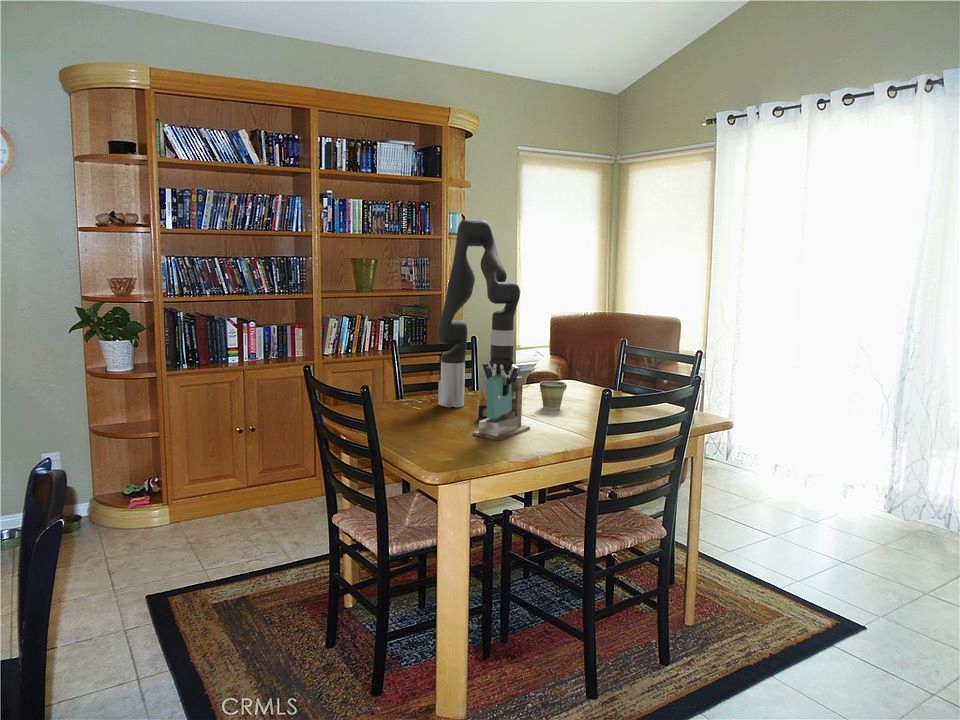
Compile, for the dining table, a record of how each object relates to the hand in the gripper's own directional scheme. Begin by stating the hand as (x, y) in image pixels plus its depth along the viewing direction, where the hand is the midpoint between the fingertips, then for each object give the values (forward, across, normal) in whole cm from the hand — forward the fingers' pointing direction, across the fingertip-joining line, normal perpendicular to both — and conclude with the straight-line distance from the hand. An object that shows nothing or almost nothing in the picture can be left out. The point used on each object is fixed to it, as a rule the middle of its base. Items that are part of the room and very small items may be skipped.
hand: (500, 394), depth 243 cm
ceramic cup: (+13, -4, +47) cm, 49 cm away
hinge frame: (+13, 0, +1) cm, 13 cm away
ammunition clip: (+13, -12, +15) cm, 23 cm away
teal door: (+6, 0, 0) cm, 6 cm away
